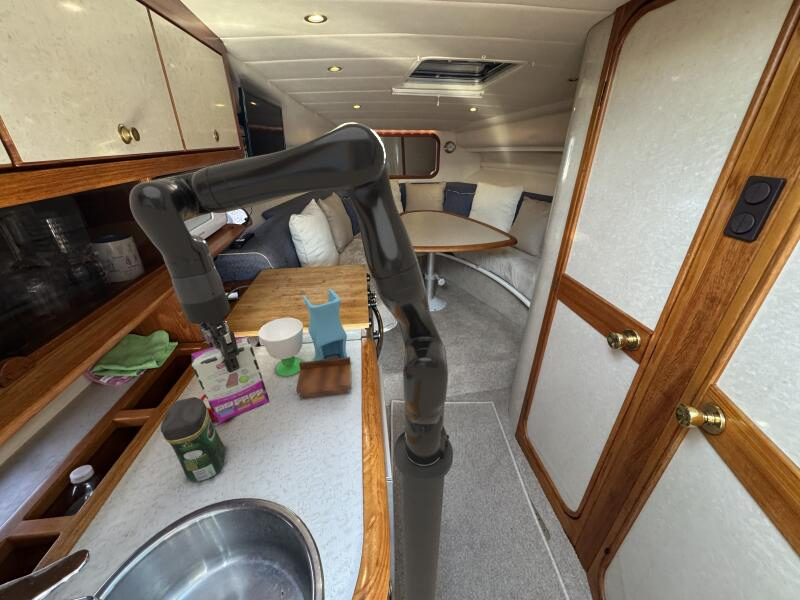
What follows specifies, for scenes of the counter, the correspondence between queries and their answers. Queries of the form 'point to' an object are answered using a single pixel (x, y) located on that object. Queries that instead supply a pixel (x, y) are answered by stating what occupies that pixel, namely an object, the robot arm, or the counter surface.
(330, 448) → the counter surface
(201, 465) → the coffee jar
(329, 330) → the blue forked stand
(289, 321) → the cup
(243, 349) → the candy bar box
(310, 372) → the wooden serving tray
